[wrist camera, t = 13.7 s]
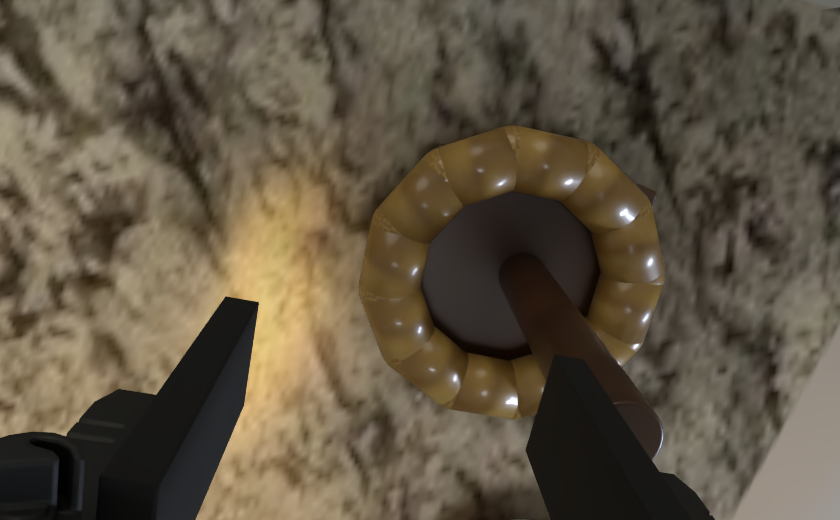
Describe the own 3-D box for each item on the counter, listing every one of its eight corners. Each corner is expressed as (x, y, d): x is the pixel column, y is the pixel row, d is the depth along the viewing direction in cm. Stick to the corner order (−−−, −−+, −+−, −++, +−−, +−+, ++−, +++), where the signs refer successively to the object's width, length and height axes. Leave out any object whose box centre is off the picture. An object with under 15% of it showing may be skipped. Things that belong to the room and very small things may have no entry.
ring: (686, 161, 25) (715, 170, 23) (600, 417, 28) (618, 448, 26) (395, 97, 24) (395, 100, 21) (341, 372, 27) (336, 400, 25)
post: (643, 185, 27) (877, 297, 14) (584, 372, 29) (734, 615, 16) (437, 142, 26) (479, 218, 13) (395, 339, 28) (394, 567, 15)
